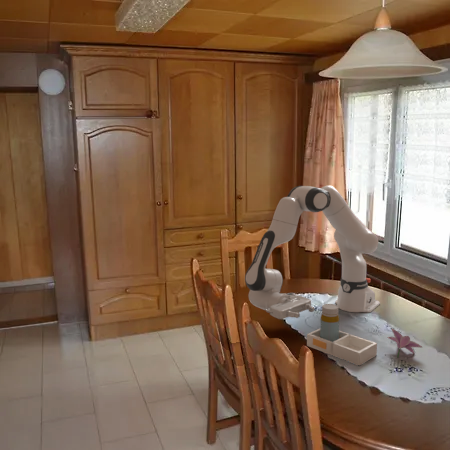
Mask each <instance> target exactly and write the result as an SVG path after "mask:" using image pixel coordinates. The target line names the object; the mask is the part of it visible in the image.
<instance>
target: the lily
mask: <svg viewBox="0 0 450 450" xmlns="http://www.w3.org/2000/svg"><path fill="white" fill-rule="evenodd" d="M391 330H392V331H391V332H392V333H393V336H388V337H387V338H388V339H389V340H391V341H393V342H395V343H396V348H398V353H397V358H399V354H400V352H401V351H400V350H401V349H404V348H405V349H406V350H408V351H409V352H411V353H412V354H413V355H414V354H415V351H414V348H423V346H422V345H420V344H419V343H417V342H415V341H413V340H411V337H410V335H402V333H400V332H399V331H398V330H396V329H394V328H391Z"/></svg>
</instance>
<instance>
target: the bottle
mask: <svg viewBox="0 0 450 450" xmlns="http://www.w3.org/2000/svg"><path fill="white" fill-rule="evenodd" d="M339 310H340V309H339V307H338V306H337V304H336V303H324V304H322V305H321V316H320V328H319V329H320V338H323V339H326V340H328V341H331V342H333V341H336V340H338V339H339V331H340V316H339Z"/></svg>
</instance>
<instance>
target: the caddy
mask: <svg viewBox="0 0 450 450" xmlns="http://www.w3.org/2000/svg"><path fill="white" fill-rule="evenodd" d="M306 347H309V348H311V349H315V350H318V351H320V352H322V353H325V354H327V355H329V356H332V355H333V357H336V358H337V357H338V359H340V358H341V359H340V360H343V359H344V360H343V361H345V360H346V361H345V362H348V361H349V362H348V363H350V362H351V364H353V363H354V364H353V365H356V366H358V365H359V366H361V365H363V364H365V363H366V362H368V361H369V360H371V359H373V358H374V357H377V354H378V353H377V352H378V343H377V342H374V341H372V340H369V339H366V338H362V337H360V336H357V335H354V334H351V333H348V332H344V331H342V330H339V339H338V340H336V341H333V342H331V341H328V340H326V339H323V338H320V328H317V329H315V330H313V331H311V332H309V333H307V335H306Z"/></svg>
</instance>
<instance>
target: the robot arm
mask: <svg viewBox="0 0 450 450" xmlns="http://www.w3.org/2000/svg"><path fill="white" fill-rule="evenodd" d="M275 208H276V209H275V210H274V214H273V217H272V220H271V224H270V226H269V227H268V229H267V231H265V233H264V234H262V235H263V236H262V237H261V239H260V242H259V243H258V247H257V249H256V251H255V254H254V257H253V260H252V262H251V263H250V265H249V267H248V269H247V271H246V272H245V275H244V282H245V284H246V287H247V288H248V289H249V292H248V300H249V301H250V303H251V304H252V305H253V306H255V307H256V308H259V309H261V310H263V311H265V312H266V313H269V315H270V316H272V317H274V318H275V319H278V320H284V319H286V318H296V319H298V318H300V317H301V313H302V312H305V311H308V312H311V313H313V312H315V307H314V306H312V300H311V299H310V298H308V297H304V296H301V295H297V294H296V293H295V292H288V293H282V292H281V290H282V287H283V284H284V283H283V282H284V279H283V277H284V276H283V275H282V272H280V271H279V269H274V268H266V267H267V264H268V261H269V258H270V256H271V254H272V252H273V250H274V249H275V248H276V247H278V246H280V245H282V244H285V243H286V244H287V243H289V241H291V240H292V239H294V237H295V235H296V232H297V228H298V223H299V219H300V217H301V215H302V213H304V212H312V213H321V212H322V213H323V215H324V216H325V218H326V219H327V221H328V222H329V223H330V225H331V227H332V228H333V229H334V233H333V237H334V241H335V242H336V245H337V246H338V250H339V253H340V254H339V255H340V258H341V277H340V286H339V287H338V291H337V299H336V300H335V301H334V304H335V305H337V306H338V307H339V310H342V311H344V312H348V313H372V311H373V310H375V309H376V308H377V307H378V306H379V305H380V304H381V302H380V301H379V300H377V299H376V293H375V291H374V290H372V288H370V287H369V285H368V284H370V283H371V278H368V277H367V265H368V264H367V262H366V259H364V257H363V254H372V253H374V252H375V251H376V250H377V248H378V247H379V238H378V236H377V235H376V234H375V232H372V230H371V229H369V228H368V227H367V226H366V225H365V224H364V223H363V222H362V221H361V220H360V219H359V218H358V217H357V215H355V213H354V212H353V210H352V209H351V207H350V206H349V204H348V203H347V201H346V200H345V198H344V197H343V196H342V194H341V193H340V191H338V190H337V189H336V188H335V187H334V186H333V185H324V186H322V187H315V186H310V185H298V186H295V187H293V188H292V189H291V190H290V191H289V193H288V194H287V196H284V197H282V198H280V200H279V202H278V204H277V206H276V207H275Z"/></svg>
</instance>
